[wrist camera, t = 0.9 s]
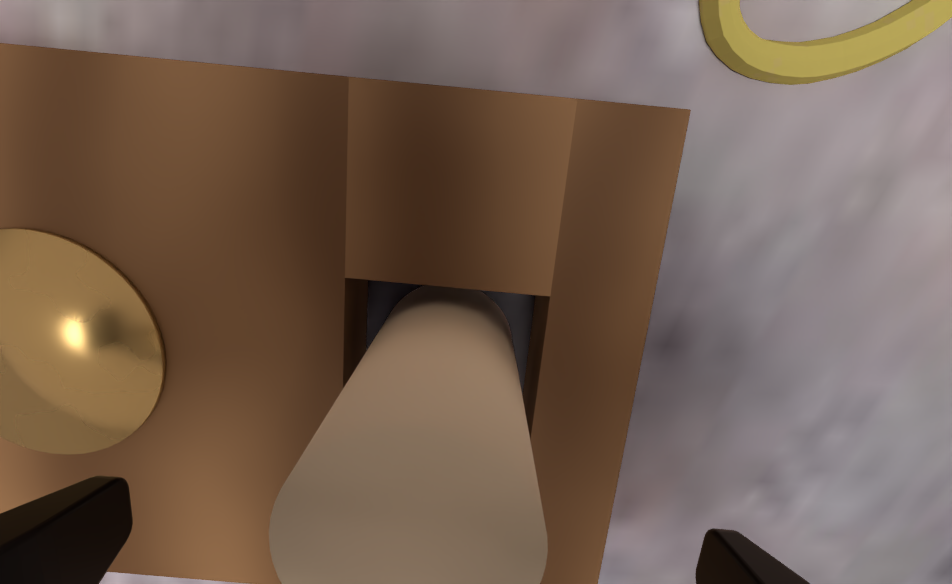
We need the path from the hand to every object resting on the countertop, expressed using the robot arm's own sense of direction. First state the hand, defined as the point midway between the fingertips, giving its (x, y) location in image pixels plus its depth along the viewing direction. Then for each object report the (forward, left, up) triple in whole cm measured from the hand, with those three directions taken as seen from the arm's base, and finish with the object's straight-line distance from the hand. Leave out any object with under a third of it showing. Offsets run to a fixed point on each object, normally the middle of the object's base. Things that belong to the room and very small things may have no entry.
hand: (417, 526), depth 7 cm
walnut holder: (+5, +2, -7) cm, 9 cm away
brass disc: (+9, +4, -5) cm, 11 cm away
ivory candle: (0, 0, -8) cm, 8 cm away
